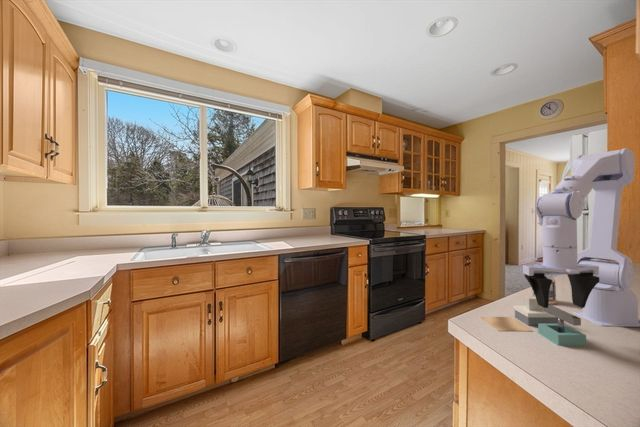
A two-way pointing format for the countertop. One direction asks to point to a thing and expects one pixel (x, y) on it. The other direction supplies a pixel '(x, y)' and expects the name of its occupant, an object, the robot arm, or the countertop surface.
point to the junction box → (535, 319)
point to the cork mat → (505, 324)
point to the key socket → (562, 335)
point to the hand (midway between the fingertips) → (560, 306)
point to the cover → (532, 308)
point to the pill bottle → (552, 290)
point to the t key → (563, 317)
